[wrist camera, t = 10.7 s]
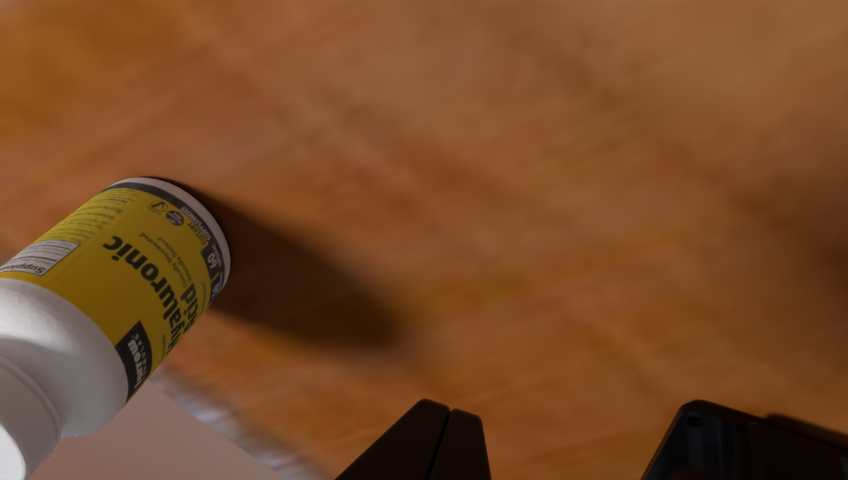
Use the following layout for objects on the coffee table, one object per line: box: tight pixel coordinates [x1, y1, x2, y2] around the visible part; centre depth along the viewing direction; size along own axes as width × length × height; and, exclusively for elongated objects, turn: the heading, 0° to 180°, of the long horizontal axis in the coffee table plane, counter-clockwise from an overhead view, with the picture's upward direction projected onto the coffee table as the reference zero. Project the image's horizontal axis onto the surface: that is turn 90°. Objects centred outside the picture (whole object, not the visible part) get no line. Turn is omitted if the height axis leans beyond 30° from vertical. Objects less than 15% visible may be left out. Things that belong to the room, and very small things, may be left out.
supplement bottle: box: [0, 177, 230, 480], centre depth 22 cm, size 5×5×10 cm
